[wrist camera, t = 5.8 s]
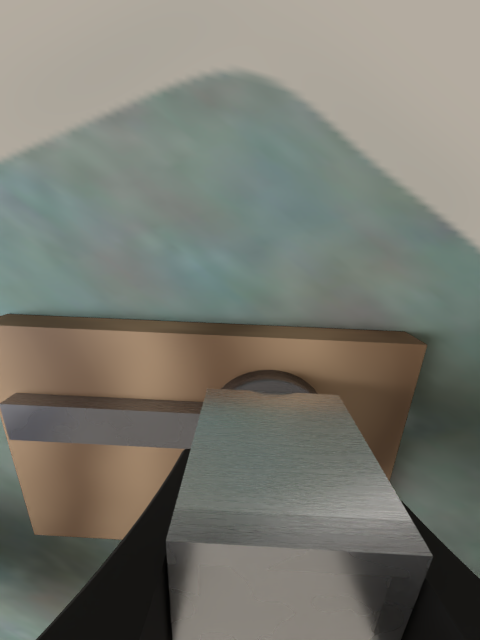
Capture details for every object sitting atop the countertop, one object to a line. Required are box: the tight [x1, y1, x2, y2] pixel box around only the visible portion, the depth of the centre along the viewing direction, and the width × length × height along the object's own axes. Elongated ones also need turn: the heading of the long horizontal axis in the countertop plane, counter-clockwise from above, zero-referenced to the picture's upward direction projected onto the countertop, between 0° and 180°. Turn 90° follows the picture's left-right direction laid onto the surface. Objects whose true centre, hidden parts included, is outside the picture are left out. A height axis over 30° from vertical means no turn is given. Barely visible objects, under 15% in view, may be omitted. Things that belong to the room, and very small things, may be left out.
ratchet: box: [0, 370, 318, 449], centre depth 9 cm, size 14×5×4 cm, turn 88°
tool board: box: [0, 314, 427, 540], centre depth 13 cm, size 18×12×2 cm, turn 88°
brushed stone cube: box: [166, 388, 433, 640], centre depth 8 cm, size 5×5×5 cm
